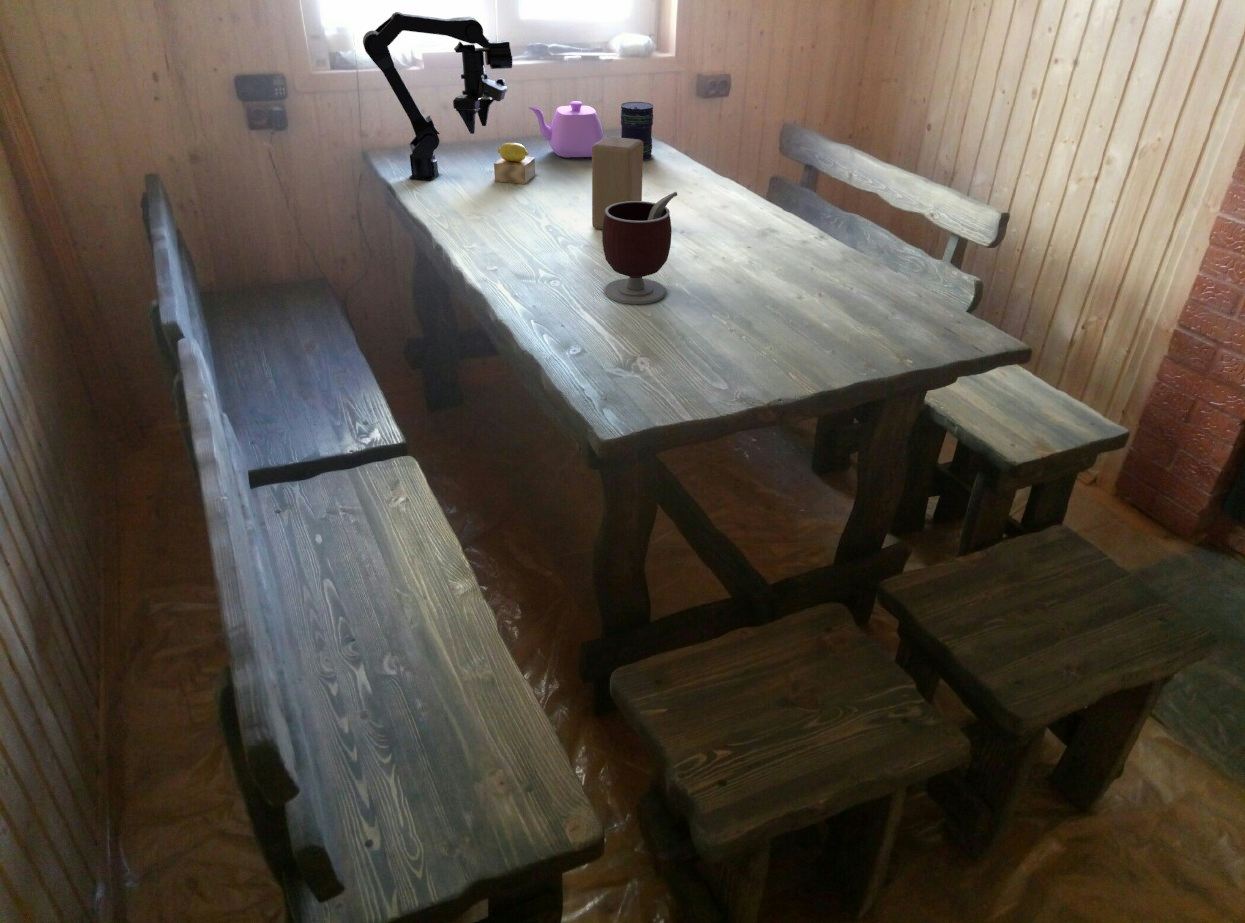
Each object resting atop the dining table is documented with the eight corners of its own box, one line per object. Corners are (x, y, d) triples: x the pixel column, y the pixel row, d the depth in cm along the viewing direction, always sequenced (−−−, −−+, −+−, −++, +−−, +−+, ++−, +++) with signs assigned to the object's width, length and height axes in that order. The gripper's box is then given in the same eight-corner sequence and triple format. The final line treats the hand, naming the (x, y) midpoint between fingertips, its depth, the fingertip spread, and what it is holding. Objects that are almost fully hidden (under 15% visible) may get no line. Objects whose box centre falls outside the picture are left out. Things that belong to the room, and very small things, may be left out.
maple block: (494, 181, 246) (493, 163, 243) (505, 172, 253) (504, 154, 250) (525, 184, 244) (524, 165, 241) (535, 175, 251) (534, 157, 249)
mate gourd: (617, 310, 175) (619, 211, 164) (591, 284, 185) (591, 190, 174) (687, 298, 180) (692, 201, 169) (658, 274, 191) (661, 182, 179)
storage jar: (622, 151, 274) (623, 101, 266) (653, 153, 273) (655, 102, 265) (617, 160, 266) (618, 108, 257) (649, 161, 265) (651, 109, 256)
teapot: (597, 142, 283) (597, 92, 274) (607, 160, 265) (607, 107, 257) (527, 144, 279) (524, 94, 271) (532, 162, 262) (529, 109, 254)
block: (642, 221, 219) (644, 139, 208) (629, 234, 211) (631, 149, 200) (604, 216, 222) (605, 134, 211) (590, 229, 214) (590, 144, 203)
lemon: (496, 163, 245) (493, 149, 241) (501, 153, 248) (498, 138, 244) (527, 166, 243) (524, 151, 240) (532, 155, 246) (529, 140, 242)
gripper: (490, 77, 228) (494, 140, 236) (513, 65, 243) (516, 124, 251) (449, 75, 230) (455, 137, 238) (475, 63, 245) (479, 121, 253)
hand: (478, 129), depth 245 cm, fingers open, 9 cm apart
